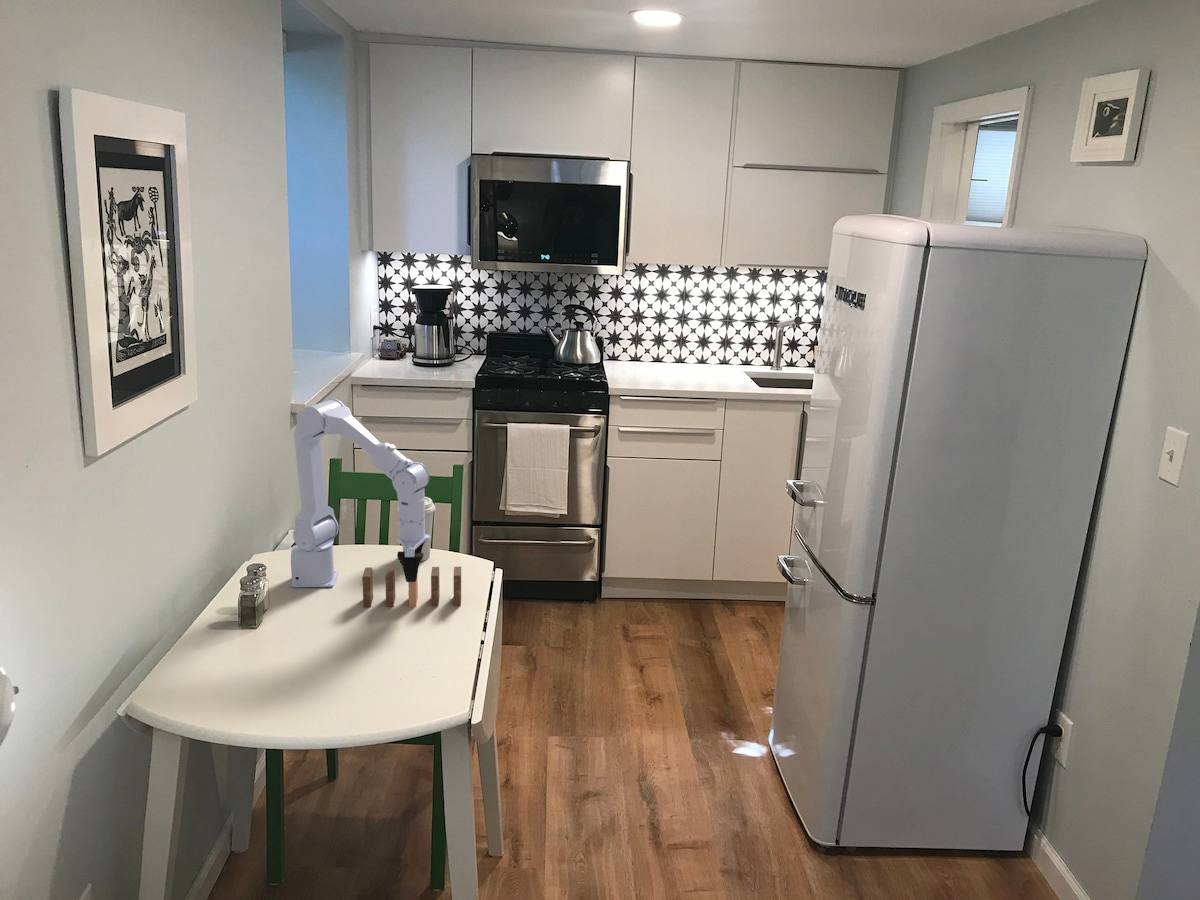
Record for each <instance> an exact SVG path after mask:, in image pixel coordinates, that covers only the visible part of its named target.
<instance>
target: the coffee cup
mask: <svg viewBox="0 0 1200 900" xmlns="http://www.w3.org/2000/svg"><path fill="white" fill-rule="evenodd" d="M396 511H397V512H398V513H399V510H398V505H397V507H396ZM435 511H436V506H435V504H434V502H433V499H431V498H430V497H428V496H425V534H426V535H430V540H429V541H425V543H424V545H423V547H422V551H421V553H424V555H423V558H422V560H421V562H423V561H427V560H428V559H430V557H431V556H430V555H431V547H432V546H431V544H432V533H433V523H434V521H433V519H434V512H435ZM402 552H405V549H404V548H403V547H402Z"/></svg>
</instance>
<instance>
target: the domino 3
mask: <svg viewBox="0 0 1200 900" xmlns="http://www.w3.org/2000/svg"><path fill="white" fill-rule="evenodd" d="M407 583H408V607H410V608H414V607H415V608H416V607H417V604H418V597H419V595H418V594H419V593H418V591H419V590H418V578H417V579H416V582H407Z"/></svg>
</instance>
